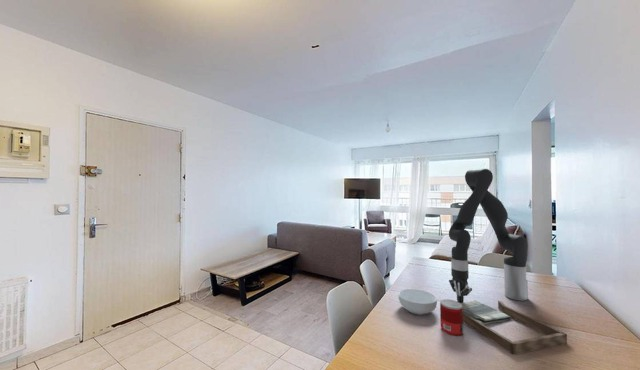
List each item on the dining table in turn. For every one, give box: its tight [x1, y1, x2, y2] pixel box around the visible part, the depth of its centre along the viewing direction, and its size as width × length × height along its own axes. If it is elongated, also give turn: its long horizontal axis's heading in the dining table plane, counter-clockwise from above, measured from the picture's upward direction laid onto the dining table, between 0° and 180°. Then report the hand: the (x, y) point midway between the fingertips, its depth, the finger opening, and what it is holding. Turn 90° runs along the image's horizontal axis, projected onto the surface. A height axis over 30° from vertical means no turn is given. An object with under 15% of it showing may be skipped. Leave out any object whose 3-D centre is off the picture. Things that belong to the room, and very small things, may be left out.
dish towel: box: [461, 300, 512, 325], centre depth 111 cm, size 19×18×3 cm
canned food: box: [439, 299, 464, 337], centre depth 98 cm, size 8×8×11 cm
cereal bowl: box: [398, 288, 438, 316], centre depth 114 cm, size 17×17×7 cm
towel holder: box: [463, 300, 568, 355], centre depth 100 cm, size 30×28×4 cm
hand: (460, 302), depth 121 cm, fingers closed
